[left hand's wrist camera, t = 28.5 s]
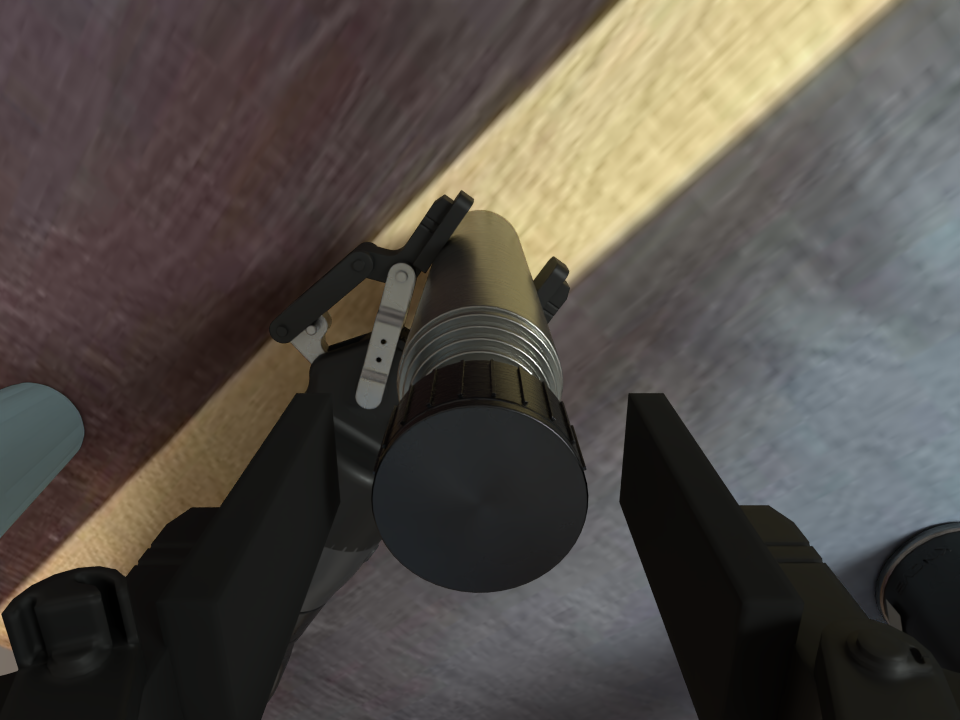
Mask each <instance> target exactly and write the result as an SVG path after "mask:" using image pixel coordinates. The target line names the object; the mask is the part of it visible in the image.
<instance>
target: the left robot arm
mask: <svg viewBox="0 0 960 720" xmlns="http://www.w3.org/2000/svg"><path fill="white" fill-rule="evenodd" d="M340 502H341V501H340V489H339V477H338V465H337V454H336V442H335V430H334V418H333V406H332V395H331V393H296V395H295V396H294V398H293V399H292V401H291V402H290V404H289V405H288V407H287V408H286V410H285V411H284V413H283V414H282V416H281V417H280V419H279V420H278V422H277V423H276V424H275V426H274V427H273V429H272V430H271V432H270V433H269V435H268V436H267V438H266V439H265V441H264V442H263V444H262V445H261V447H260V448H259V450H258V451H257V453H256V454H255V456H254V457H253V459H252V460H251V462H250V463H249V465H248V466H247V468H246V469H245V471H244V472H243V473H242V475H241V476H240V478H239V479H238V481H237V482H236V484H235V485H234V487H233V488H232V490H231V491H230V493H229V494H228V496H227V497H226V499H225V500H224V502H223V503H222V505H221V506H220V507H192V508H190V509H189V510H187V511H186V512H184V513H183V514H181V515H180V516H178V517H177V518H175V519H174V520H172V521H171V522H170V523H168V524H167V525H166V526H165V527H164V528H163V530H162V531H161V532H160V534H159V535H158V536H157V537H156V539H155V540H154V541H153V543H152V544H151V548H148V549H147V550H146V552H145V553H144V554H143V556H142V557H141V558H140V559H139V561H138V565H135V566H134V567H133V568H132V570H131V571H130V572H129V574H128V575H127V576H126V577H125V576H123V575H122V574H121V573H120V572H119V571H117V570H116V569H111V568H106V567H101V566H95V567H83V568H76V569H72V570H69V571H65V572H62V573H58V574H55V575H52V576H50V577H48V578H46V579H44V580H42V581H40V582H38V583H36V584H33V585H32V586H30V587H29V588H27V589H26V590H25V591H23V592H22V593H21V594H19V595H18V596H17V597H15V598H14V599H13V600H12V601H11V602H10V604H9V605H8V606H7V607H6V609H5V610H4V611H3V613H2V614H1V615H2V618H3V621H4V624H5V627H6V631H7V634H8V637H9V640H10V643H11V647H12V650H13V653H14V656H15V659H16V663H17V666H18V671H16V672H13V673H10V674H6V675H2V676H0V720H261V718H262V715H263V713H264V710H265V707H266V705H267V702H268V699H269V696H270V694H271V691H272V688H273V685H274V683H275V680H276V677H277V674H278V672H279V669H280V666H281V664H282V661H283V658H284V655H285V653H286V650H287V647H288V644H289V642H290V639H291V636H292V633H293V631H294V628H295V625H296V623H297V620H298V617H299V614H300V612H301V609H302V606H303V603H304V601H305V598H306V595H307V592H308V590H309V587H310V584H311V581H312V579H313V576H314V573H315V571H316V568H317V565H318V562H319V560H320V557H321V554H322V551H323V549H324V546H325V543H326V540H327V538H328V535H329V532H330V530H331V527H332V524H333V521H334V519H335V516H336V513H337V510H338V508H339V505H340ZM619 502H620V505H621V508H622V510H623V513H624V516H625V519H626V521H627V524H628V527H629V530H630V532H631V535H632V538H633V540H634V543H635V546H636V549H637V551H638V554H639V557H640V560H641V562H642V565H643V568H644V571H645V573H646V576H647V579H648V581H649V584H650V587H651V590H652V592H653V595H654V598H655V601H656V603H657V606H658V609H659V612H660V614H661V617H662V620H663V623H664V625H665V628H666V631H667V633H668V636H669V639H670V642H671V644H672V647H673V650H674V653H675V655H676V658H677V661H678V664H679V666H680V669H681V672H682V674H683V677H684V680H685V683H686V685H687V688H688V691H689V694H690V696H691V699H692V702H693V705H694V707H695V710H696V713H697V715H698V718H699V720H960V673H957V672H953V671H950V670H946V669H943V668H941V667H940V665H939V664H938V662H937V661H936V659H935V658H934V656H933V655H932V653H931V652H930V651H929V650H928V649H926V648H925V647H924V646H923V645H922V644H920V643H919V642H918V641H917V640H916V639H914V638H913V637H911V636H910V635H908V634H906V633H904V632H902V631H900V630H898V629H896V628H895V627H893V626H890V625H887V624H884V623H881V622H878V621H875V620H871V619H869V618H868V617H867V615H866V614H865V613H864V612H863V610H862V609H861V608H860V606H859V605H858V604H857V603H856V601H855V600H854V599H853V598H852V596H851V595H850V594H849V592H848V591H847V590H846V589H845V587H844V586H843V585H842V583H841V582H840V581H839V580H838V578H837V577H836V576H835V574H834V573H833V572H832V571H831V569H830V568H829V567H828V566H827V564H826V563H823V562H822V558H821V557H820V555H819V554H818V553H817V551H816V550H815V549H814V548H813V546H810V545H809V541H808V540H807V539H806V537H805V536H804V535H803V534H802V532H801V531H800V530H799V528H798V527H797V526H796V525H795V523H794V522H792V521H791V520H790V519H788V518H787V517H785V516H784V515H782V514H781V513H779V512H778V511H776V510H775V509H773V508H772V507H770V506H769V505H738V503H737V502H736V500H735V499H734V497H733V496H732V494H731V493H730V491H729V490H728V488H727V487H726V485H725V484H724V482H723V481H722V479H721V478H720V476H719V475H718V473H717V472H716V471H715V469H714V468H713V466H712V465H711V463H710V462H709V460H708V459H707V457H706V456H705V454H704V453H703V451H702V450H701V448H700V447H699V445H698V444H697V442H696V441H695V439H694V438H693V436H692V435H691V433H690V432H689V430H688V429H687V427H686V426H685V424H684V423H683V422H682V420H681V419H680V417H679V416H678V414H677V413H676V411H675V410H674V408H673V407H672V405H671V404H670V402H669V401H668V399H667V398H666V396H665V395H664V393H629V395H628V406H627V418H626V430H625V442H624V454H623V465H622V477H621V489H620V501H619Z"/></svg>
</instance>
